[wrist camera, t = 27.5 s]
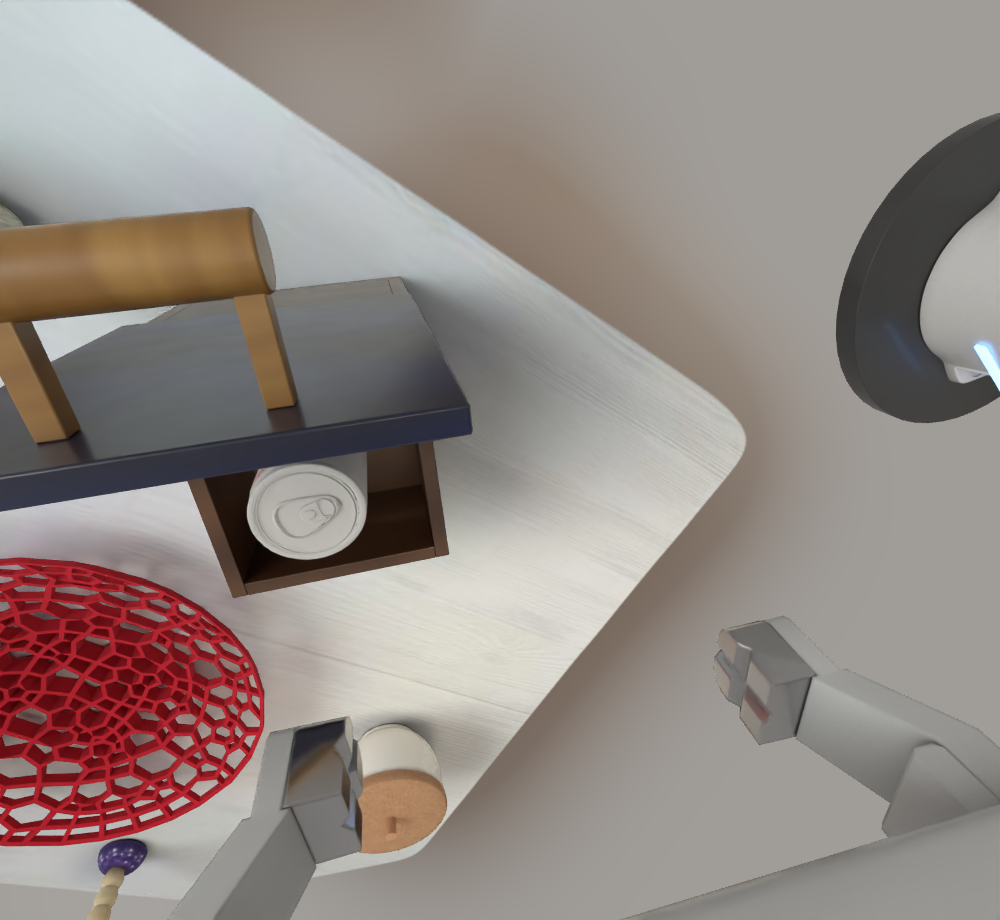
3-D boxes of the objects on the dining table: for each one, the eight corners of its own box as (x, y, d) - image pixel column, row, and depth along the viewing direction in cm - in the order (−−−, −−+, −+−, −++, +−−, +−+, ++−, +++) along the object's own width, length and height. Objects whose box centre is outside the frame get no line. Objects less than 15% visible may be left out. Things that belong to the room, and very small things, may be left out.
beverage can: (272, 423, 38) (223, 538, 25) (308, 357, 37) (276, 443, 24) (343, 457, 41) (334, 578, 27) (380, 396, 39) (388, 493, 26)
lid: (473, 435, 13) (446, 188, 10) (-228, 550, 10) (-470, 266, 8) (413, 307, 28) (397, 197, 26) (127, 342, 26) (81, 225, 23)
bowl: (341, 627, 49) (339, 669, 44) (160, 821, 54) (142, 876, 49) (-31, 445, 35) (-87, 480, 31) (-223, 725, 41) (-295, 789, 36)
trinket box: (388, 692, 53) (393, 781, 45) (457, 735, 58) (473, 822, 50) (310, 753, 54) (301, 852, 46) (385, 790, 59) (388, 885, 51)
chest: (432, 486, 44) (449, 554, 36) (259, 517, 42) (232, 598, 33) (400, 276, 37) (411, 298, 28) (187, 299, 35) (128, 332, 26)
